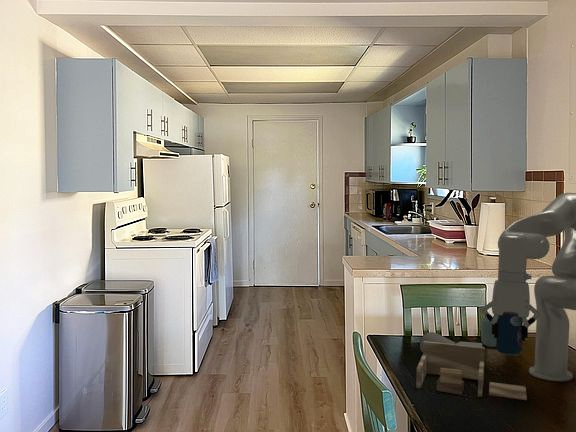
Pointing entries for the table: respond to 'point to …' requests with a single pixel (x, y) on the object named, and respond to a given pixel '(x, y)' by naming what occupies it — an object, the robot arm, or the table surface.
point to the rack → (452, 361)
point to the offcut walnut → (450, 387)
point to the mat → (507, 391)
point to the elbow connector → (443, 340)
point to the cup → (487, 333)
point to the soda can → (509, 334)
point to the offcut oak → (451, 376)
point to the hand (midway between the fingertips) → (509, 337)
